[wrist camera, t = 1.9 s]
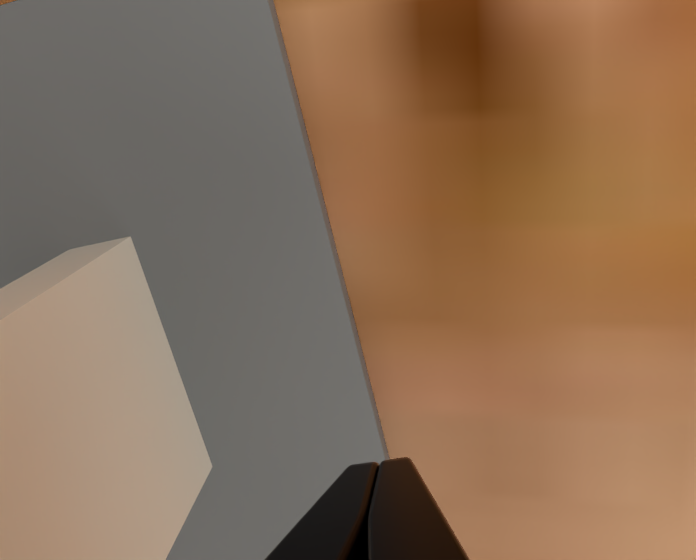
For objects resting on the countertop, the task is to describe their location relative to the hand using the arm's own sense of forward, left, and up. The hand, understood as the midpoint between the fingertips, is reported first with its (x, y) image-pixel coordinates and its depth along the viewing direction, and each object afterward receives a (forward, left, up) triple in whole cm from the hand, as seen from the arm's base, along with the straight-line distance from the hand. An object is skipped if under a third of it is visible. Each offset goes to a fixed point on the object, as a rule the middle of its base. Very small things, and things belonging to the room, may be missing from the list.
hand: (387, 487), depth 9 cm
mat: (-1, +8, -6) cm, 10 cm away
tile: (0, +6, -6) cm, 8 cm away
